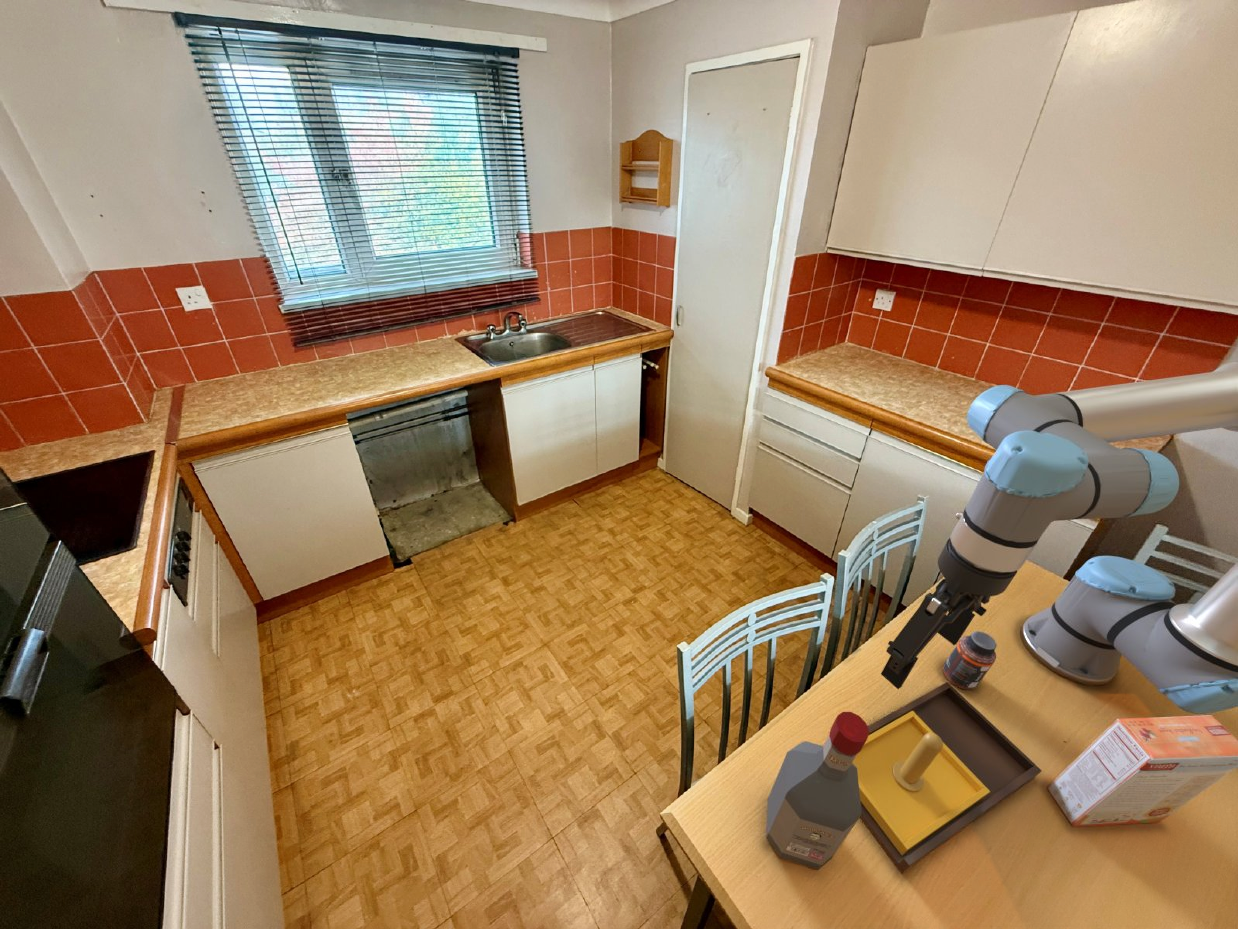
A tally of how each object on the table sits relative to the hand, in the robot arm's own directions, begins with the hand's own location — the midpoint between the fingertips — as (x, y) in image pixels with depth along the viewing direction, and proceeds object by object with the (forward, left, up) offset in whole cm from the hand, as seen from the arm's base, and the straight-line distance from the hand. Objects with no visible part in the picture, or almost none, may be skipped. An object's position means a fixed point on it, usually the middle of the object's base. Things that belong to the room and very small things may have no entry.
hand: (919, 658), depth 73 cm
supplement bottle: (-26, -2, -24) cm, 35 cm away
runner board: (-5, +7, -24) cm, 26 cm away
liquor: (+20, +5, -24) cm, 32 cm away
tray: (0, +7, -23) cm, 24 cm away
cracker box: (-26, +22, -24) cm, 42 cm away
